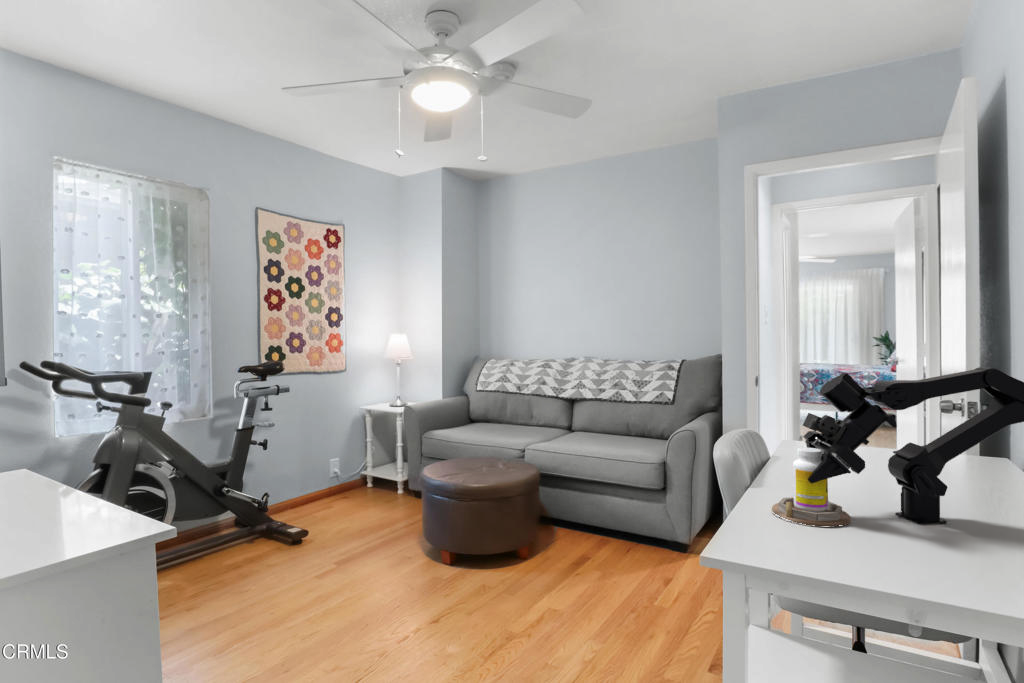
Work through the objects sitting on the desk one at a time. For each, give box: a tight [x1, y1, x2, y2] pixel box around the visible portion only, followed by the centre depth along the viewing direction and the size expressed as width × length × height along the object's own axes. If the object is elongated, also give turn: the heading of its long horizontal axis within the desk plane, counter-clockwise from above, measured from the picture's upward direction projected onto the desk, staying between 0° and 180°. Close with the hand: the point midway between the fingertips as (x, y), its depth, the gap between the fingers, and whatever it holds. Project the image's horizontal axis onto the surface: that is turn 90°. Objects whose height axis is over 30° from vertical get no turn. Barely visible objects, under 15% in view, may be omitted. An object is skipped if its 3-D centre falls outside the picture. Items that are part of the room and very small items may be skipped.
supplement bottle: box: [792, 447, 829, 512], centre depth 120 cm, size 7×7×13 cm
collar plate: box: [771, 496, 851, 526], centre depth 120 cm, size 15×15×4 cm
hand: (803, 477), depth 120 cm, fingers closed on supplement bottle, 7 cm apart
